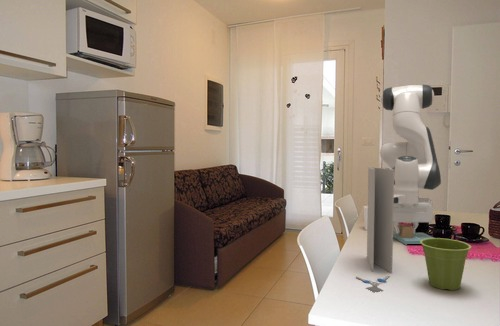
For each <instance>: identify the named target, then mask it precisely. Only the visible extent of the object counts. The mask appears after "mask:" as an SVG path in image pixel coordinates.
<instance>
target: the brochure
mask: <svg viewBox="0 0 500 326" xmlns="http://www.w3.org/2000/svg"><path fill="white" fill-rule="evenodd" d="M367 167H368V168H367V169H368V171H367V206H368V222H367V230H366V233H367V234H366V237H367V238H366V239H367V241H366V244H367V245H366V259H367V261H368V264H369V266H370V270H371V273H374V264H376V265H377V266H379V267H381V268H382V269H384V270H385V271H387V272H389V273H390V274H393V255H394V254H393V253H394V251H393V250H394V247H393V246H394V237H393V232H394V225H393V209H394V188H395V185H394V170H393V169H391V167H387V166H385V167H384V168H383V167H382V168H381V167H372V166H367Z"/></svg>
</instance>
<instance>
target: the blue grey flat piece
mask: <svg viewBox="0 0 500 326" xmlns="http://www.w3.org/2000/svg"><path fill="white" fill-rule="evenodd" d="M390 277H391V276H390V275H387V276H385V277H384V278H377V280H376V281H372V280H370V279H365V278H362V277H359V276H355V278H356V279H358V280H361V281H362V282H363V283H364V284H370V285H372V286H368V287H365V289H366V290H367V289H368V291H369V290H370V292H371V291H372V292H371V293H373V294H374V293H375V292H376V293H380V291H381V292H384V289H381V288H379V287H378V286H380V285H381V284H387V282H388V281H387V280H388V279H389V278H390ZM376 293H375V294H376Z"/></svg>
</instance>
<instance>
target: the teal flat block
mask: <svg viewBox="0 0 500 326" xmlns="http://www.w3.org/2000/svg"><path fill="white" fill-rule="evenodd" d="M413 236H414V237H416V238H417V239H419V240H423V239H428V238H434V237H433V236H431V235H429V234H427V233H425V232H415V234H413Z"/></svg>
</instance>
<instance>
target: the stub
mask: <svg viewBox="0 0 500 326" xmlns="http://www.w3.org/2000/svg"><path fill="white" fill-rule="evenodd" d="M397 226H398V228H399V229H401V234H397V233H396V231H393V239H395V240H397V241H399V242H400V243H402V244H404V245H405V246H408V245H407V244H421V243H420V241H421V240H419V239H417V238H416V237H414V236H413V229H414V228H413V227H412V226H411V225H410V224H399V225H397Z"/></svg>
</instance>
